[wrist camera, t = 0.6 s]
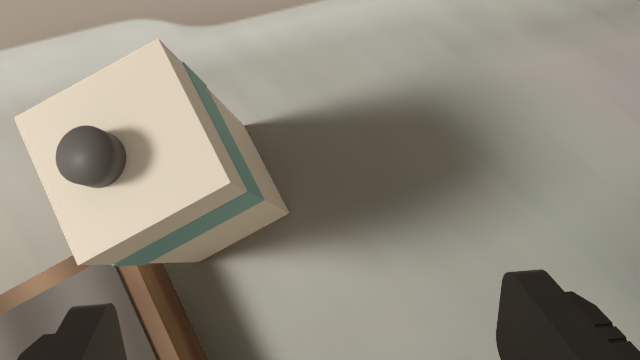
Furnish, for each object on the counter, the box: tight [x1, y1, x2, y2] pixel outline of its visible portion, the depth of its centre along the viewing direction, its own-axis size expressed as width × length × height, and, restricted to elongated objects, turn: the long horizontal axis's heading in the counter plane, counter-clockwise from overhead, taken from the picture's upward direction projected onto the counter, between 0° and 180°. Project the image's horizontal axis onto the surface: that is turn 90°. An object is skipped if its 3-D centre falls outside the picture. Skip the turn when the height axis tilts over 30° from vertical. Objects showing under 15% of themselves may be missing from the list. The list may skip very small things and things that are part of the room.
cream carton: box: [14, 38, 289, 266], centre depth 25 cm, size 6×6×14 cm
